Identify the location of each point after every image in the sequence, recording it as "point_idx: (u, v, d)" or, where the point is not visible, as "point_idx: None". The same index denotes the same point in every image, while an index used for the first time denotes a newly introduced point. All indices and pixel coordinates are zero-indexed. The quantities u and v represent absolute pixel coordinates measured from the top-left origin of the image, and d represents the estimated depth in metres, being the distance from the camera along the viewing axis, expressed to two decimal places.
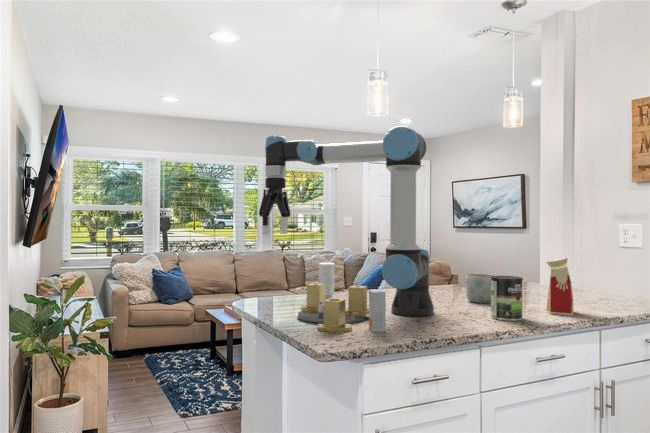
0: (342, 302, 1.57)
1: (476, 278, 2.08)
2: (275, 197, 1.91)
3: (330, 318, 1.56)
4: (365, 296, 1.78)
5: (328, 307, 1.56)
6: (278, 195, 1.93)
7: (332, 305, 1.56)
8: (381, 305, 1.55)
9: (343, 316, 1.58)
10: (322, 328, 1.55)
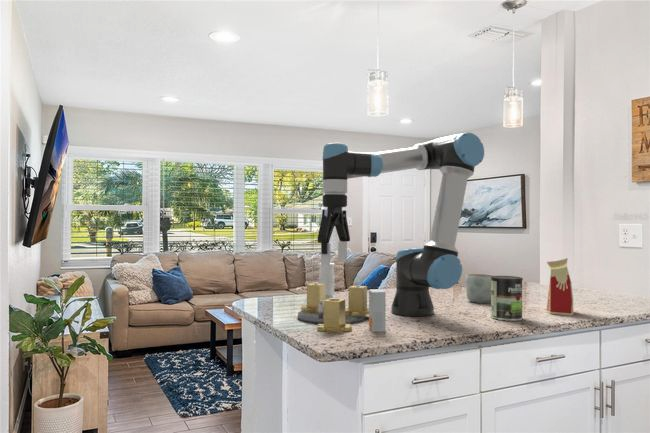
0: (342, 302, 1.57)
1: (476, 278, 2.08)
2: (336, 218, 1.55)
3: (330, 318, 1.56)
4: (365, 296, 1.78)
5: (328, 307, 1.56)
6: (339, 216, 1.56)
7: (332, 305, 1.56)
8: (381, 305, 1.55)
9: (343, 316, 1.58)
10: (322, 328, 1.55)
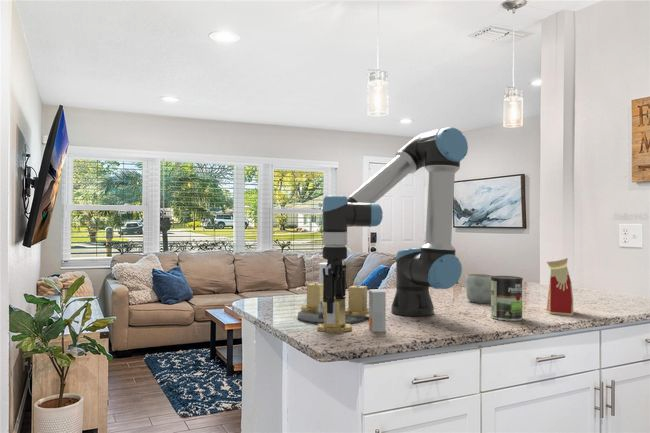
0: (342, 302, 1.57)
1: (476, 278, 2.08)
2: (336, 273, 1.56)
3: None
4: (365, 296, 1.78)
5: None
6: (339, 268, 1.57)
7: None
8: (381, 305, 1.55)
9: (343, 316, 1.58)
10: (322, 328, 1.55)
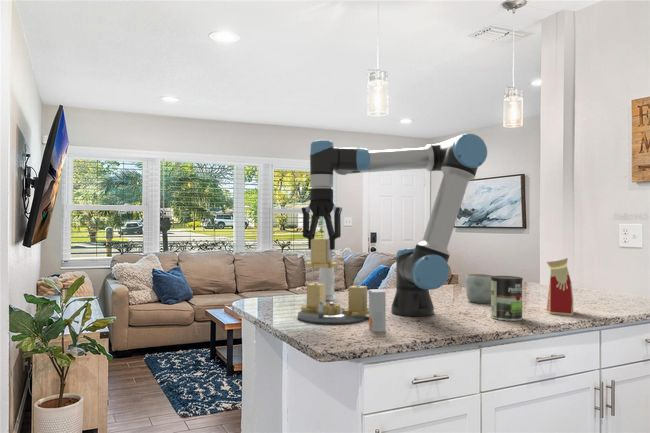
0: (319, 241, 1.66)
1: (476, 278, 2.08)
2: None
3: None
4: (365, 296, 1.78)
5: None
6: (316, 208, 1.67)
7: None
8: (381, 305, 1.55)
9: (321, 254, 1.66)
10: None
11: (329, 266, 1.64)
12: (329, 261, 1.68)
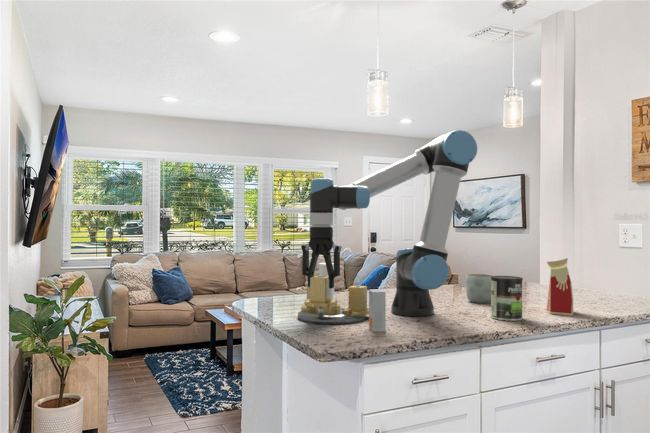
0: (318, 279, 1.66)
1: (476, 278, 2.08)
2: (312, 251, 1.68)
3: None
4: (365, 296, 1.78)
5: None
6: (315, 247, 1.67)
7: None
8: (381, 305, 1.55)
9: (320, 293, 1.66)
10: None
11: (328, 305, 1.64)
12: (328, 299, 1.68)
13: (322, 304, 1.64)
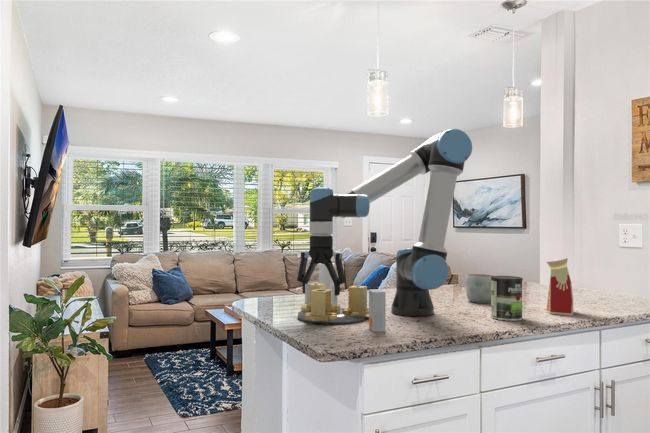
0: (318, 293, 1.66)
1: (476, 278, 2.08)
2: None
3: None
4: (365, 296, 1.78)
5: None
6: (315, 256, 1.67)
7: None
8: (381, 305, 1.55)
9: (321, 307, 1.66)
10: None
11: (329, 319, 1.64)
12: (329, 313, 1.68)
13: (322, 318, 1.64)
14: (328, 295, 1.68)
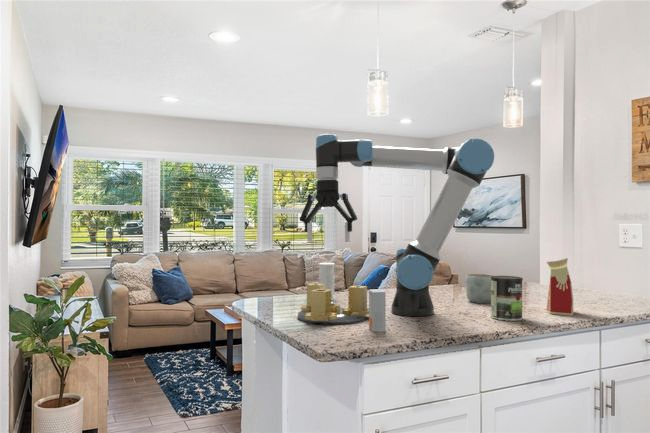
0: (318, 293, 1.66)
1: (476, 278, 2.08)
2: (317, 202, 1.78)
3: None
4: (365, 296, 1.78)
5: None
6: (322, 199, 1.77)
7: None
8: (381, 305, 1.55)
9: (321, 307, 1.66)
10: None
11: (329, 319, 1.64)
12: (329, 313, 1.68)
13: (322, 318, 1.64)
14: (328, 295, 1.68)
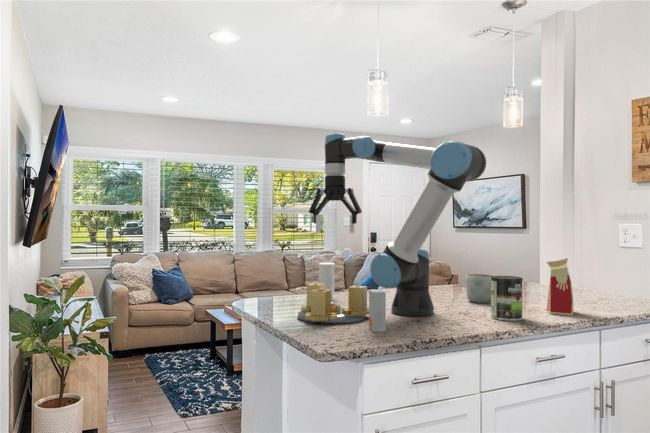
0: (318, 293, 1.66)
1: (476, 278, 2.08)
2: None
3: None
4: (365, 296, 1.78)
5: None
6: (329, 193, 1.92)
7: None
8: (381, 305, 1.55)
9: (321, 307, 1.66)
10: None
11: (329, 319, 1.64)
12: (329, 313, 1.68)
13: (322, 318, 1.64)
14: (328, 295, 1.68)
